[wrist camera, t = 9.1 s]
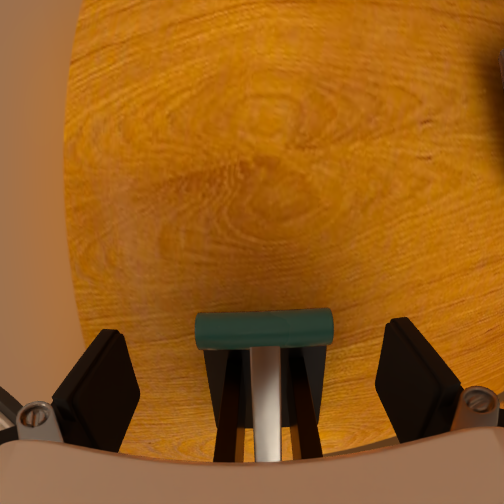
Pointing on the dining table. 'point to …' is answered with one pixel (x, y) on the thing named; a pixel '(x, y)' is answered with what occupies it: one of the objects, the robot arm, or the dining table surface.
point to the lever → (265, 358)
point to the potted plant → (502, 65)
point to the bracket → (240, 399)
